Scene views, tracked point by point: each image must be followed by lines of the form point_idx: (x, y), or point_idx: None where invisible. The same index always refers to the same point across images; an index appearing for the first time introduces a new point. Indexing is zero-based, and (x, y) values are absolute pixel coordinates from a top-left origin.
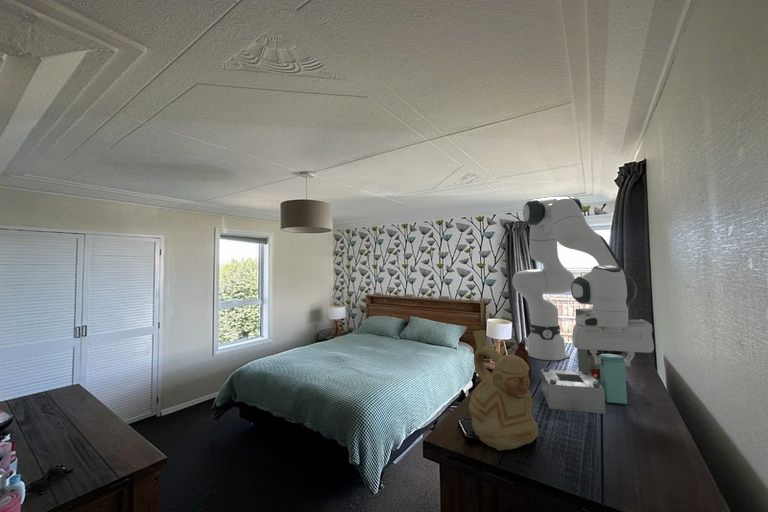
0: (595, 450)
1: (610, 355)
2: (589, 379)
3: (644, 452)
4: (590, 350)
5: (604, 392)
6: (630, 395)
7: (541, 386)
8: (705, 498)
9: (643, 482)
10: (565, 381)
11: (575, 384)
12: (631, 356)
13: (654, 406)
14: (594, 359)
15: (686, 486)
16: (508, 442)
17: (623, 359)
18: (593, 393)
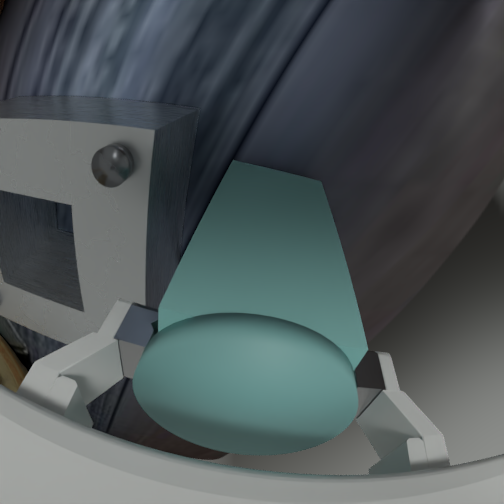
0: (109, 398)
1: (255, 394)
2: (111, 279)
3: None
4: (33, 388)
5: None
6: (404, 132)
7: (8, 99)
8: (207, 456)
9: (152, 439)
10: (19, 293)
11: (51, 324)
12: (383, 456)
13: (407, 247)
14: (106, 317)
15: (200, 448)
16: None
17: (306, 443)
18: None
